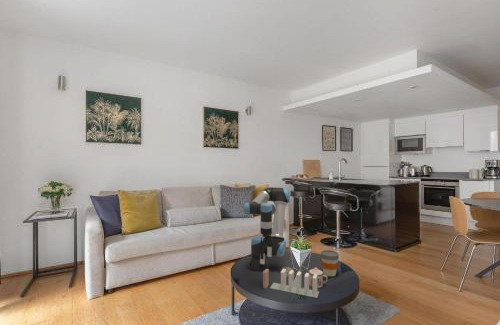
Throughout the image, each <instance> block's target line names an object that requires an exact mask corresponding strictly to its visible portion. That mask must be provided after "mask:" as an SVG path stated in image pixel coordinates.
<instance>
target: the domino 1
mask: <svg viewBox="0 0 500 325" xmlns="http://www.w3.org/2000/svg"><path fill="white" fill-rule="evenodd" d="M269 275H270V269H269V268H268V269H265V270H263V271H262V289H267V288H268V286H269V285H270V284H269V283H270V279H269V278H270V276H269Z"/></svg>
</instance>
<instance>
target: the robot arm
mask: <svg viewBox="0 0 500 325" xmlns="http://www.w3.org/2000/svg"><path fill="white" fill-rule="evenodd" d="M268 202H273V203H268ZM289 203H291V195H290V190H289V188H286V187H272V186H270V187H267V188H264V189H262V190H261V191H259V192H258V194H257V196H256V197H254V199H253V200H252V201H251V202H245V203H244V204H243V212H244V214H247V215H257V216H258V215H259V216H260V222H259V223H260V225H259V226H260V228H259V229H260V230H259V231H260V232H259V233H260V234H261V235H257V236H254V237H252V238H251V241H250V259H249V262H248V268H249V270H251V271H256V272H261V271H262V272H264V270H265V269H269V262H268V259H267V257H268V258H271V257H273V256H274V257H283V256H284V255H285V253H286V250H287V241H286V240H285V237H284V229H285V228H284V226H285V216H286V207H287V206H288V205H289Z"/></svg>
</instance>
